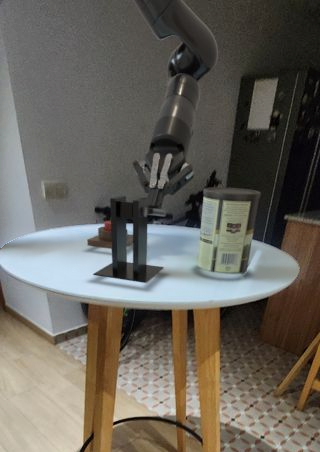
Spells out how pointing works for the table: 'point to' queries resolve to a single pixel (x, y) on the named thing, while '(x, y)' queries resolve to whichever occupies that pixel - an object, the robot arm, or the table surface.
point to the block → (106, 239)
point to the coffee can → (227, 229)
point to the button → (107, 225)
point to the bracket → (119, 244)
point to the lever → (127, 210)
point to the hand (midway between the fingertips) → (152, 210)
